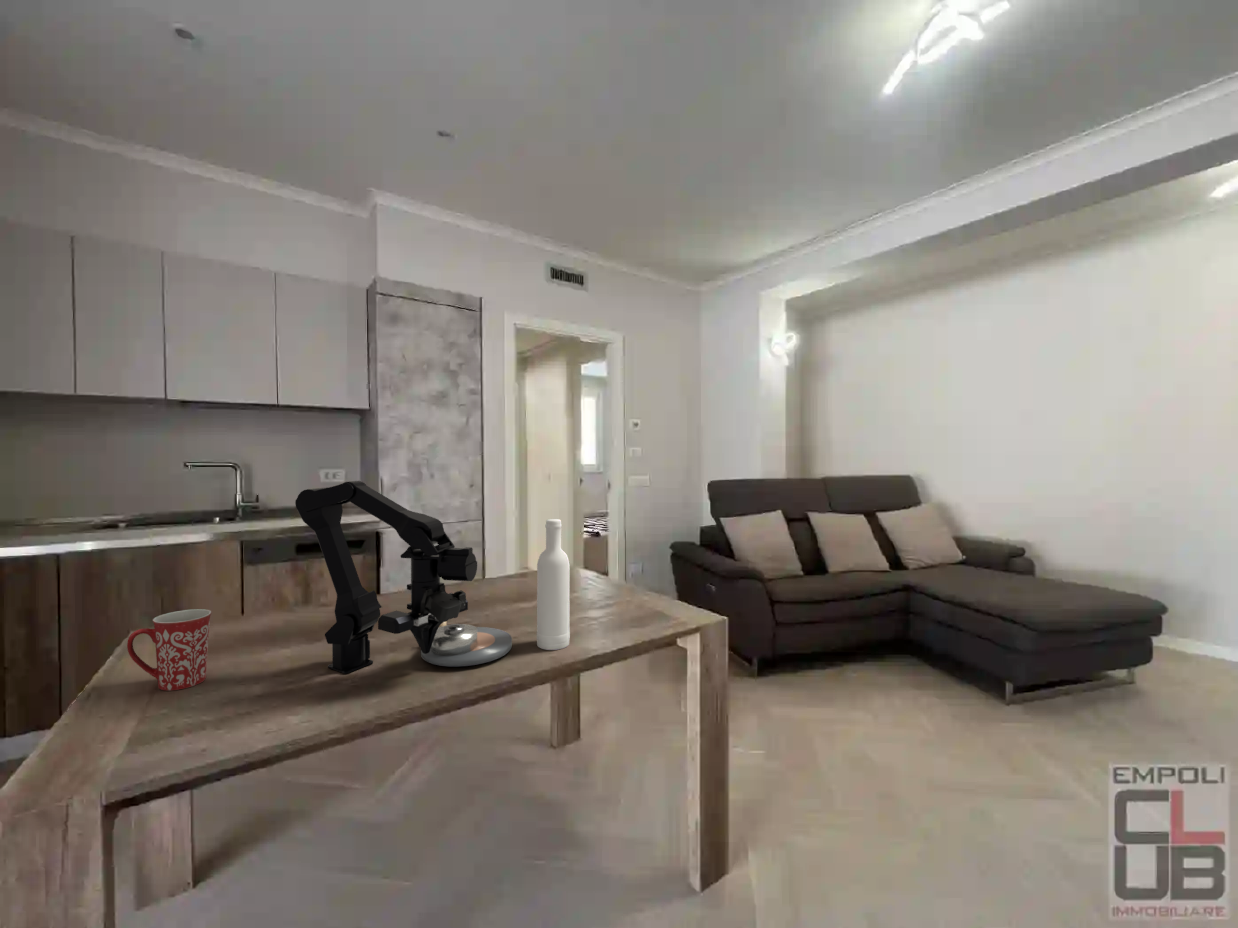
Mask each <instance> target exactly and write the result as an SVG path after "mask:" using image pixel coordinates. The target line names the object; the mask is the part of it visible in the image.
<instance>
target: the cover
mask: <svg viewBox="0 0 1238 928" xmlns="http://www.w3.org/2000/svg"><path fill="white" fill-rule="evenodd" d="M476 627H477V626H475V625H472V624H468V623H467V624H465V623H451V624H447V625H446V626H442V627H439V628H438V630H437V632H436V634H435V637H434V640H433V643H432V646H431V649H430V651H431V652H432V653H433V654H436V655H441V656H453V655H460V654H464V653H468V652H470V651H472V650H474V649H475V648H476V647H477V628H476Z"/></svg>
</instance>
